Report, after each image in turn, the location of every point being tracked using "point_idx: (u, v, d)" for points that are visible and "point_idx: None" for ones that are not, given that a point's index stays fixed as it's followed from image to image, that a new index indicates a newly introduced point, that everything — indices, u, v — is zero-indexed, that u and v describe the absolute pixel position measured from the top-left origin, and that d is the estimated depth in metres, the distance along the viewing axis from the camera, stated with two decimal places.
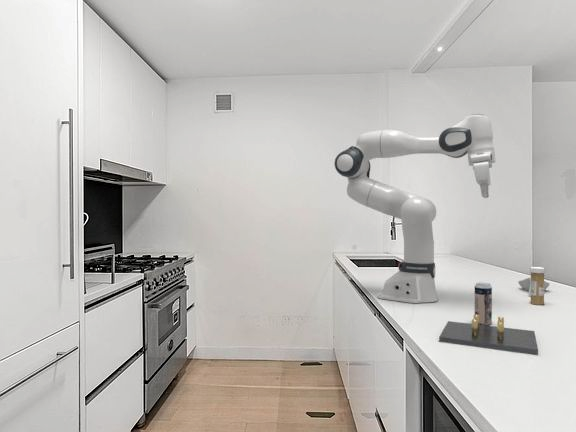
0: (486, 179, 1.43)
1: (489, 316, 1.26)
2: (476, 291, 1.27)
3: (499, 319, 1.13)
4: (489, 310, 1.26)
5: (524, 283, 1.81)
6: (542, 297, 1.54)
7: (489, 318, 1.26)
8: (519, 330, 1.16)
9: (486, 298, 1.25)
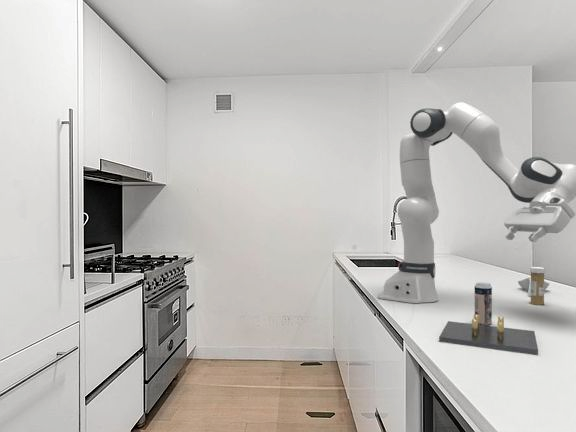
0: (560, 230, 1.22)
1: (489, 316, 1.26)
2: (476, 291, 1.27)
3: (499, 319, 1.13)
4: (489, 310, 1.26)
5: (523, 283, 1.81)
6: (542, 297, 1.54)
7: (489, 318, 1.26)
8: (519, 330, 1.16)
9: (486, 298, 1.25)
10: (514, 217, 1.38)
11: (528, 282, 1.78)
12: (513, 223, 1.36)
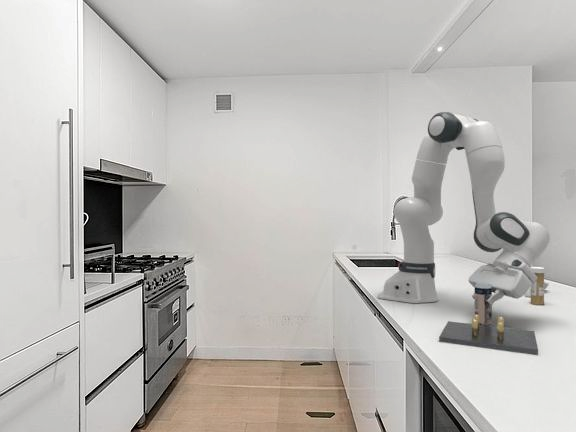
0: (520, 296, 1.19)
1: (489, 316, 1.26)
2: (476, 291, 1.27)
3: (499, 319, 1.13)
4: (489, 310, 1.26)
5: None
6: (542, 297, 1.54)
7: (489, 318, 1.26)
8: (519, 330, 1.16)
9: None
10: (478, 274, 1.35)
11: None
12: (476, 281, 1.33)
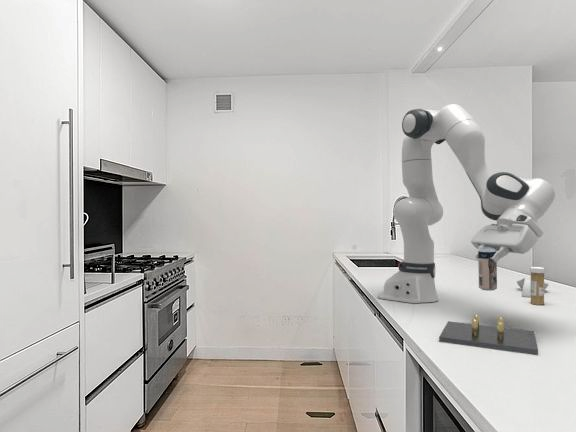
0: (526, 251, 1.14)
1: (494, 281, 1.20)
2: (480, 255, 1.22)
3: (499, 319, 1.13)
4: (494, 275, 1.20)
5: (521, 283, 1.80)
6: (542, 297, 1.54)
7: (494, 283, 1.20)
8: (519, 330, 1.16)
9: (490, 262, 1.20)
10: (481, 234, 1.30)
11: None
12: (480, 241, 1.28)
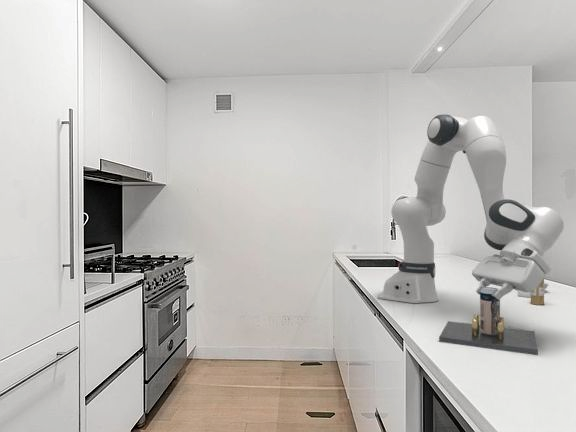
0: (531, 289, 1.04)
1: (496, 325, 1.10)
2: (482, 297, 1.12)
3: None
4: (496, 319, 1.10)
5: None
6: (542, 297, 1.54)
7: (496, 328, 1.10)
8: (519, 330, 1.16)
9: (493, 305, 1.10)
10: (483, 266, 1.20)
11: None
12: (481, 274, 1.18)
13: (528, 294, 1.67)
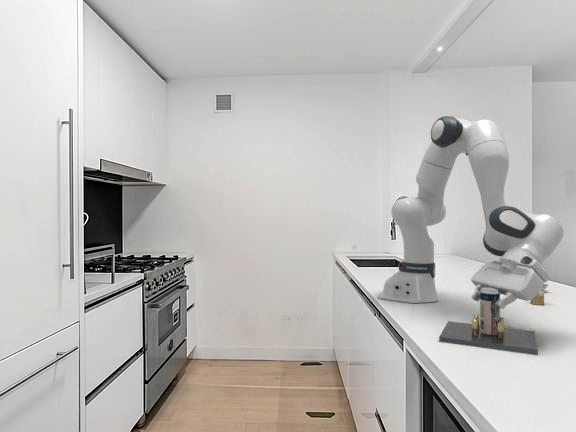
0: (531, 298, 1.04)
1: (496, 325, 1.10)
2: (482, 297, 1.12)
3: None
4: (496, 319, 1.10)
5: None
6: (542, 297, 1.54)
7: (496, 328, 1.10)
8: (519, 330, 1.16)
9: (493, 305, 1.10)
10: (482, 273, 1.20)
11: None
12: (480, 281, 1.18)
13: None
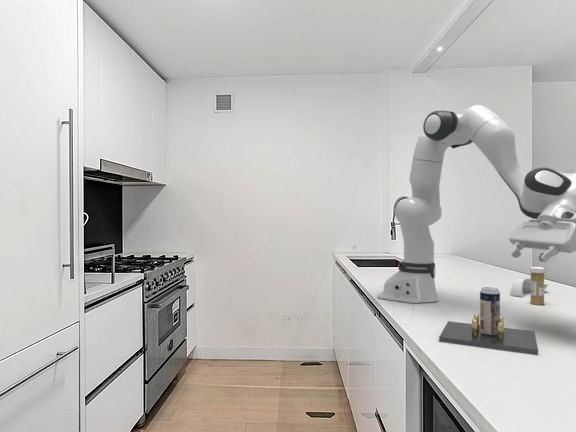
0: (574, 250, 1.08)
1: (496, 325, 1.10)
2: (482, 297, 1.12)
3: None
4: (496, 319, 1.10)
5: None
6: (542, 297, 1.54)
7: (496, 328, 1.10)
8: (519, 330, 1.16)
9: (493, 305, 1.10)
10: (520, 231, 1.24)
11: None
12: (519, 239, 1.22)
13: (520, 293, 1.68)
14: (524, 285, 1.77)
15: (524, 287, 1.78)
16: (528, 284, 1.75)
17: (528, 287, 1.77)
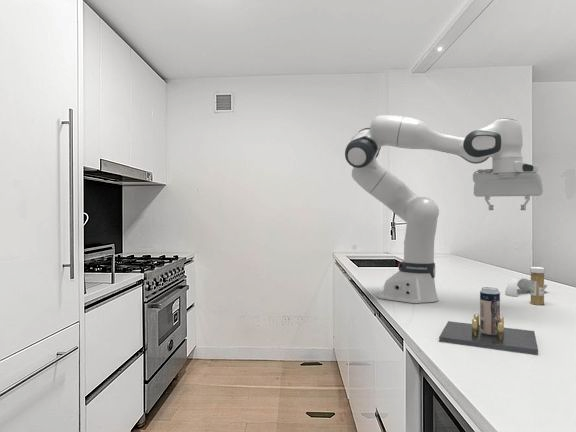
0: None
1: (496, 325, 1.10)
2: (482, 297, 1.12)
3: None
4: (496, 319, 1.10)
5: None
6: (542, 297, 1.54)
7: (496, 328, 1.10)
8: (519, 330, 1.16)
9: (493, 305, 1.10)
10: (484, 187, 1.42)
11: (517, 282, 1.78)
12: (489, 195, 1.41)
13: (514, 293, 1.69)
14: (522, 285, 1.77)
15: (522, 287, 1.78)
16: (525, 284, 1.76)
17: (526, 287, 1.77)
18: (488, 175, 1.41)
